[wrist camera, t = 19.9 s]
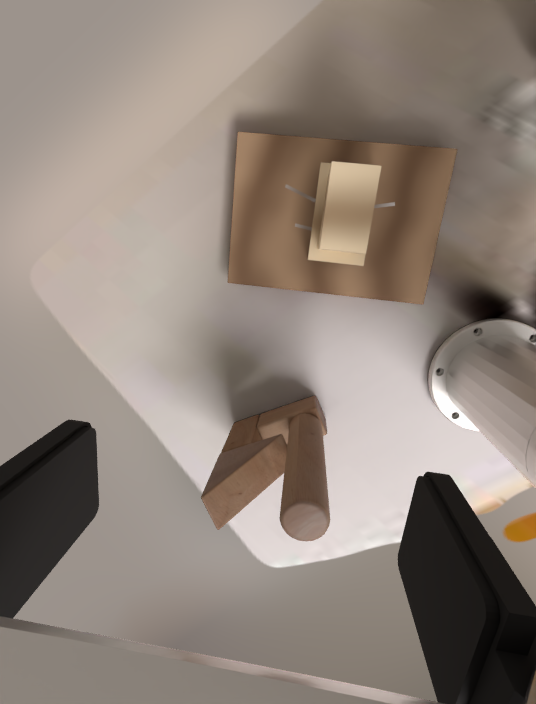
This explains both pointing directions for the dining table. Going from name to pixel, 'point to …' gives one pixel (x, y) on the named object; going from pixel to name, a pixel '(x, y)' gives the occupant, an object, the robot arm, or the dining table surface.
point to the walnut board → (298, 210)
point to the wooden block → (275, 468)
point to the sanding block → (343, 212)
